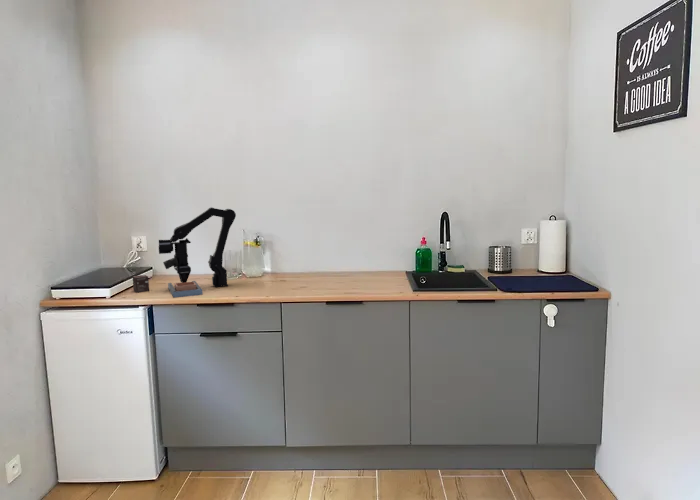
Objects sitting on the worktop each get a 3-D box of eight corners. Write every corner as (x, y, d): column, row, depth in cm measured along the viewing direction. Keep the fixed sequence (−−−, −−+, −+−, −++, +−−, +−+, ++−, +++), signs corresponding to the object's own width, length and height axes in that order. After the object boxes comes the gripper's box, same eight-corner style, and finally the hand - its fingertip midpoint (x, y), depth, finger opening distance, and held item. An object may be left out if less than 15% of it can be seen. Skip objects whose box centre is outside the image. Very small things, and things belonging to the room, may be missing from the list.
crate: (194, 289, 251) (193, 281, 251) (196, 292, 244) (196, 284, 243) (174, 291, 247) (174, 283, 247) (176, 294, 240) (176, 286, 240)
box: (136, 292, 247) (135, 277, 246) (133, 290, 251) (132, 276, 250) (149, 291, 250) (148, 276, 249) (146, 289, 255) (145, 274, 254)
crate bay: (195, 285, 262) (194, 280, 262) (202, 294, 241) (202, 289, 241) (168, 288, 256) (167, 283, 256) (173, 297, 236) (173, 292, 235)
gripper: (162, 251, 257) (164, 282, 259) (165, 256, 240) (167, 289, 242) (185, 249, 262) (187, 279, 264) (190, 254, 245) (192, 286, 247)
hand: (183, 283), depth 254 cm, fingers open, 9 cm apart
